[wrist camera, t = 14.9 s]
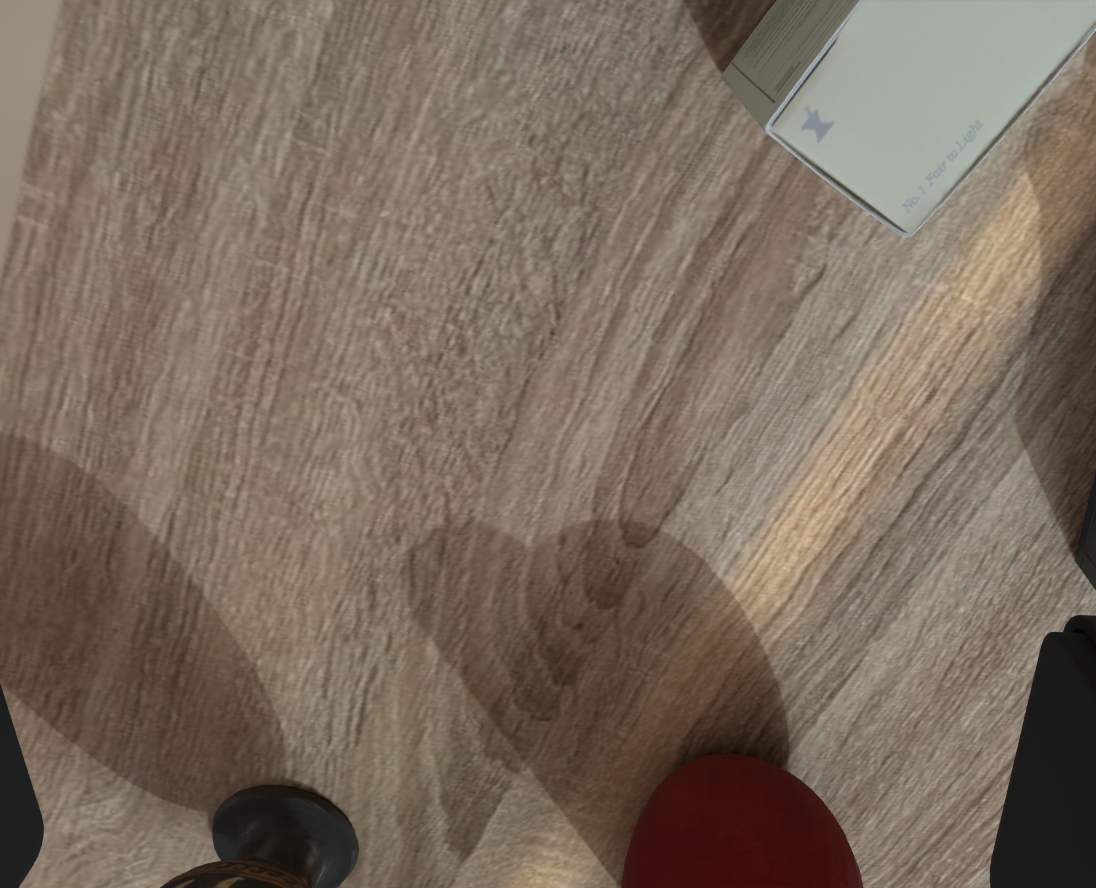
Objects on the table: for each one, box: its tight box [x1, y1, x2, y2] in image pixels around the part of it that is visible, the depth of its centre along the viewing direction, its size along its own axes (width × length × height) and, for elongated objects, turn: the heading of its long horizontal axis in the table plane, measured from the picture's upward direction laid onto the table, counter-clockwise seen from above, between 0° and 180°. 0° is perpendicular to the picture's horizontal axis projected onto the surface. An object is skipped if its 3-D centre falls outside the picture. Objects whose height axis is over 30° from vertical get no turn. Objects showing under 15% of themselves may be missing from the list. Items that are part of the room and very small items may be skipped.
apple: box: [622, 753, 863, 888], centre depth 42 cm, size 10×10×10 cm
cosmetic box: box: [722, 0, 1096, 237], centre depth 27 cm, size 6×4×12 cm
